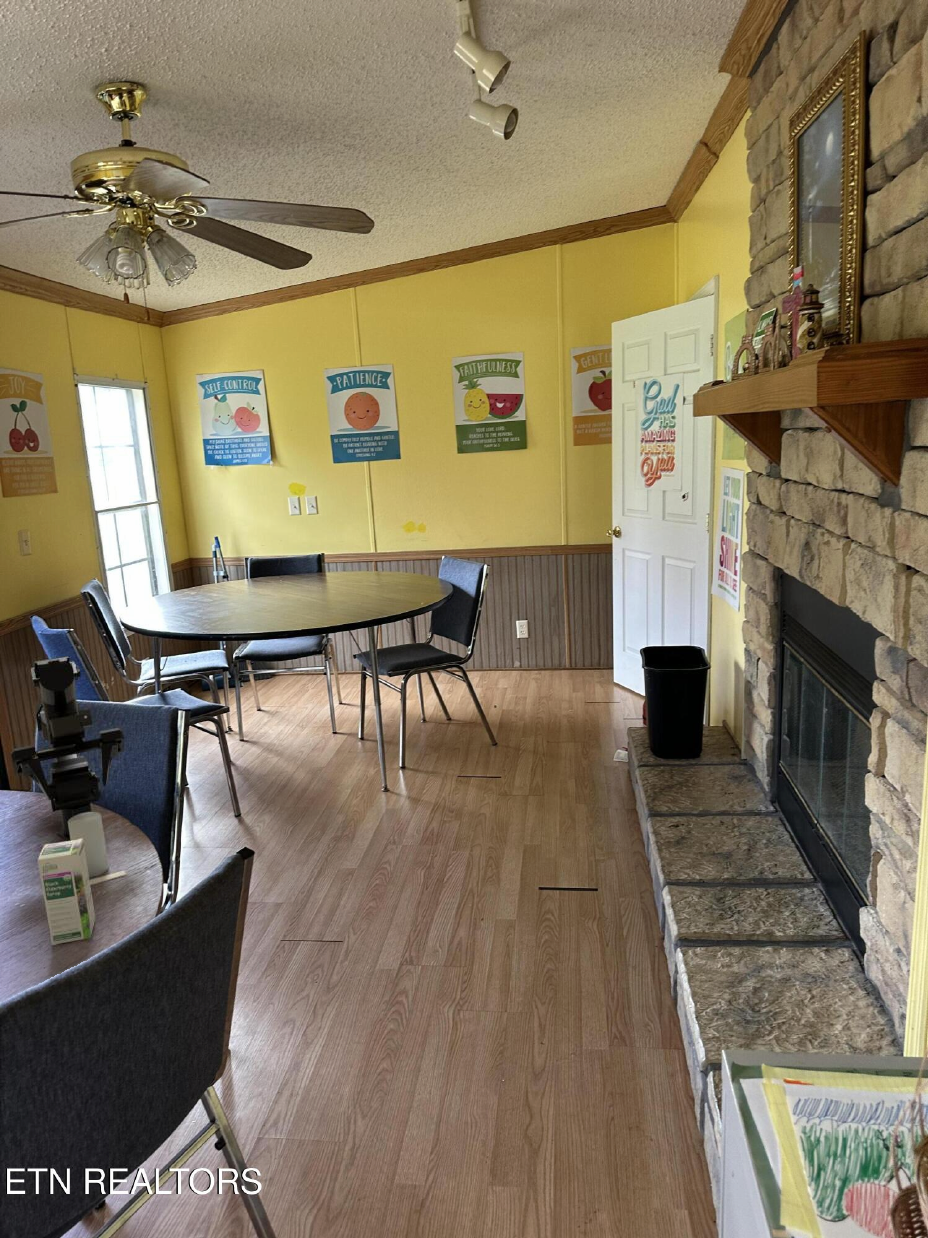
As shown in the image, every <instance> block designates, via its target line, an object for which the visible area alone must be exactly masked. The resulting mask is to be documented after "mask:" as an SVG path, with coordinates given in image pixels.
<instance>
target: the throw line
mask: <svg viewBox="0 0 928 1238" xmlns="http://www.w3.org/2000/svg"><path fill="white" fill-rule="evenodd" d="M126 875H127V874H126V871H125V870H121V871H118V872H114V873H111V874H106V875H104V876H100V877H95V878H93V879H89V881H90V886H94V885H96V884H100V883H103V882H108V881H110V880H113V879H114V880H115V879H118V878H122V877H125V876H126Z"/></svg>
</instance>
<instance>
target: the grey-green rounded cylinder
mask: <svg viewBox="0 0 928 1238" xmlns="http://www.w3.org/2000/svg"><path fill="white" fill-rule="evenodd" d="M102 820H103V819H102V814H101V813H99V812H97V811H93V812H86V813H82V814H78V815H76V816H74V817H72V818H70V819H69V820H68V827H69V833H70V839H71V841H72V840H78V839H81V838H83V842H84V849H85V855H86V862H87V868H88V874H89V879H91V878H94V877H93V876H95V877H98V876H100V875H102V874H105V872H107V871H108V869H109V860H108V859H109V858H108V852H107V846H106V840H105V839H106V838H105V833H104V826H103V821H102Z"/></svg>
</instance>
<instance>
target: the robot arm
mask: <svg viewBox="0 0 928 1238" xmlns="http://www.w3.org/2000/svg"><path fill="white" fill-rule="evenodd" d="M70 659H71V658H70V656H63V657H61V656H60V657H55V658H49V659H43V660H35V661H34V662H33V665H34V667H30V672H31V673H30V674H31V678H32V683H33V684H32V685H33V688H37V691H39V692H40V694H39V696H38V698H37V700H36V702H35V703H34V705H33V706H34V712H35V719H36V727H37V731H38V733H42V739H43V740H44V741H45V742H49V743H50V747H49V748H45V749H41V750H40V749H39V750H36V746H35V744H30V745H25V746H21V747H16V748H13V749H12V750H11V752H10V757H11V761H12V769H13V773H14V775H17V776H18V775H22V776H23V777H24V778H27V777H29V778H30V779H32V780H33V781H34V782H35V783H36V785H37V786H38V787H39V788H40V790H41V791H42V793H43V794H44V795H45V796H46V798H47V799H48V801H50V805H51V810H52V813H54V812H57V811H59V812H60V813H59V814H60V821H61V826H62V828H59V829H57V830H56V834H57V835H59V836H60V837H62V838H64V839H65V840H66V841H71V839H70V833H69V827H68V820H69V819H70V818H72V817H74V816H76V815H78V814H82V813H86V812H94V810H93V805H92V804H93V803H98V802H99V803H100V799H101V798H102V790H101V789H102V788H101V782H102V785H103V787H104V788H107V786H108V785H107V784H108V776H109V770H110V767H111V763H112V760H113V759H114V758H117V757H118V755H119V754H121V753H122V752H124V750H125V736H124V731H123V730H122V729H121V728H119V727H115V728H111V729H110V728H109V729H104V730H100V731H99V732H98V734H99V735H98V736H99V738H94V739H89V740H85V738H86V732H85V728H88V727H89V728H90V727H92V726H93V718H92V712H91V709H90V707H87V708H82V709H79V705H78V701H77V698H76V683H75V682H77V681H79V678H80V677H81V675H82V674H81V670H80V667H79V666H78V665H77V664H76V662H75V661H71V660H70ZM96 750H100V764H101V765H100V766H101V778H102V781H101V779H100V777H98V776H97V774H96V773H95V771H91V767H90V764H89V763H88V760H87V757H85V756H84V755H82V756H78V754H81V753H87V752H91V751H96ZM53 759H54V760H55V761H53V762H51V764H50V771H49V774H50V781H47V779H46V776H45V773H44V769H43V767H42V764H41V762H43V761H50V760H53Z"/></svg>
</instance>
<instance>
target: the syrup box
mask: <svg viewBox="0 0 928 1238" xmlns="http://www.w3.org/2000/svg"><path fill="white" fill-rule="evenodd" d="M37 866H38V872H39V873H38V874H39V877H40V883H41V888H42V889H41V890H42V895H43V898H44V904H45V905H44V906H45V911H46V917H47V922H48V927H49V928H48V929H49V937H50V942H51V945H52V946H56V945H59V944H63V943H64V944H65V943H71V942H76V941H81V940H87V939H88V940H89V939H91V938H92V933H93V930H94V927H95V926H94V925H95V923H96V915H95V909H94V900H93V896H92V894H93V893H92V888H91V885H90V881H89V880H90V878H89V874H88V868H87V862H86V855H85V849H84V842H83V838H81V839H78V840H72V841H68V840H66V841H60V842H55V843H46V844H44V845H43V847H42V849H41V851H40V853H39V856H38V858H37Z"/></svg>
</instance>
